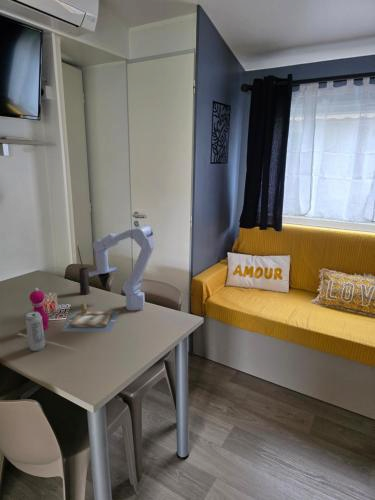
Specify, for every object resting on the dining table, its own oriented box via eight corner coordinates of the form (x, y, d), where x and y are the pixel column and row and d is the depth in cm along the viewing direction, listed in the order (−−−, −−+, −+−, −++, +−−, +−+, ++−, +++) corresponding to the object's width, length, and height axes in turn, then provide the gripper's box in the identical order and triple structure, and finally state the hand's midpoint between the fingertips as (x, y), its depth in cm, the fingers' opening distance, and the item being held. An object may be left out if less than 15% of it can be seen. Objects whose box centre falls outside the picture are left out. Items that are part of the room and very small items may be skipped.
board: (119, 312, 167) (119, 311, 167) (110, 333, 148) (110, 331, 147) (75, 312, 167) (75, 310, 167) (60, 332, 148) (60, 331, 148)
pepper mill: (33, 334, 146) (27, 292, 141) (32, 327, 152) (26, 286, 147) (50, 331, 149) (45, 289, 144) (49, 324, 156) (44, 283, 150)
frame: (111, 314, 163) (111, 303, 161) (106, 326, 151) (105, 314, 150) (78, 314, 163) (77, 303, 161) (70, 326, 151) (69, 314, 150)
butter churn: (97, 289, 196) (93, 243, 188) (93, 296, 187) (89, 247, 179) (81, 289, 196) (77, 243, 188) (76, 296, 186) (71, 247, 179)
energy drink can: (40, 342, 140) (36, 309, 136) (48, 347, 137) (44, 313, 133) (26, 348, 136) (21, 314, 132) (33, 353, 132) (29, 319, 128)
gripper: (113, 257, 178) (114, 281, 182) (86, 262, 171) (88, 287, 174) (118, 261, 173) (119, 285, 176) (90, 266, 165) (92, 291, 169)
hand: (104, 286), depth 175 cm, fingers closed
